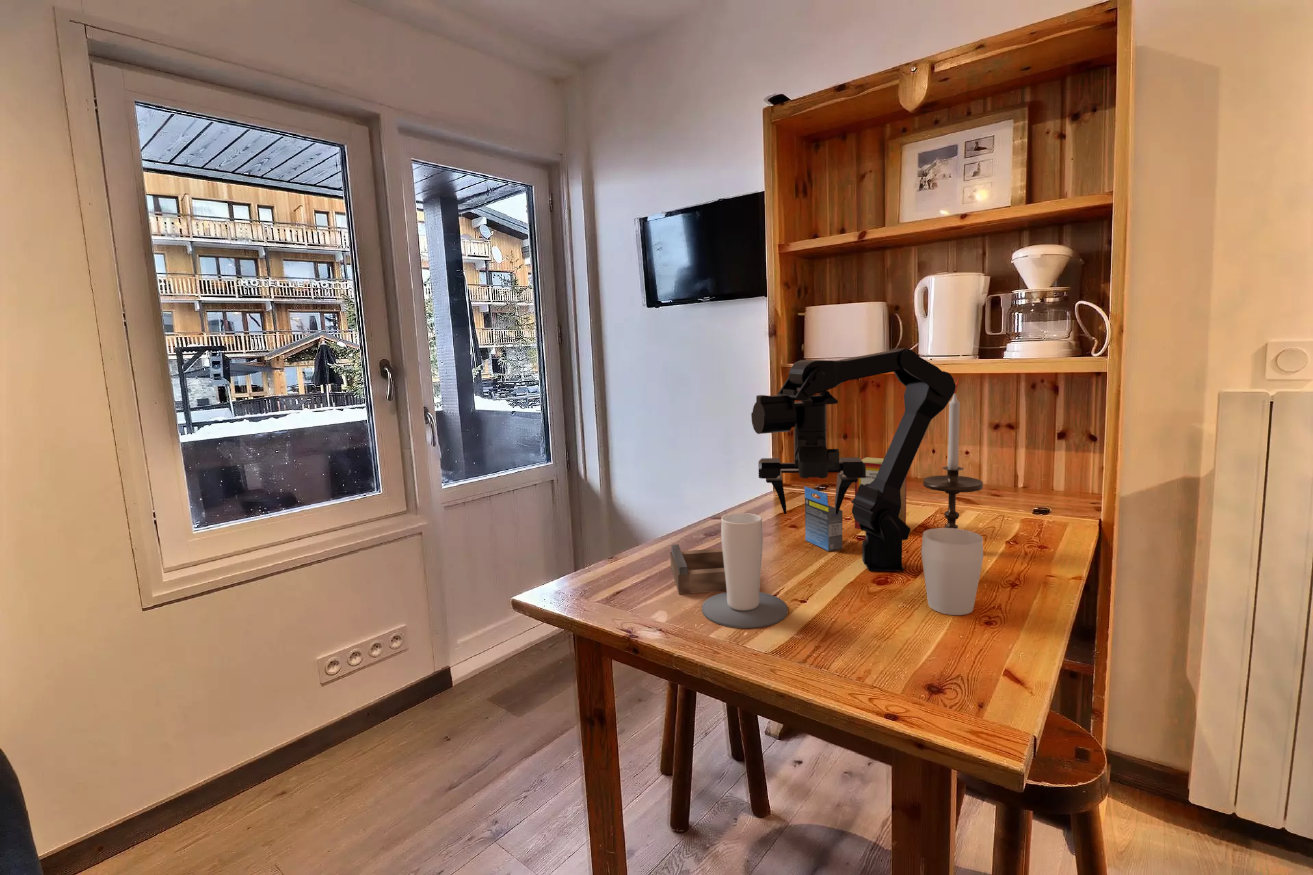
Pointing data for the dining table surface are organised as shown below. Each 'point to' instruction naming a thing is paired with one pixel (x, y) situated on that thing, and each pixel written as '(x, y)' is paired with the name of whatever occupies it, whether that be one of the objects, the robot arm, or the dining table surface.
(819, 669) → the dining table surface
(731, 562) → the drinking glass
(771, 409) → the robot arm
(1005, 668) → the dining table surface
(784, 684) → the dining table surface
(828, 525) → the blue hang tab box
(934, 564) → the cup
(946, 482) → the candlestick
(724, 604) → the slate mat
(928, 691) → the dining table surface
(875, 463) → the baking soda box
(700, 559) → the wooden holder tray
